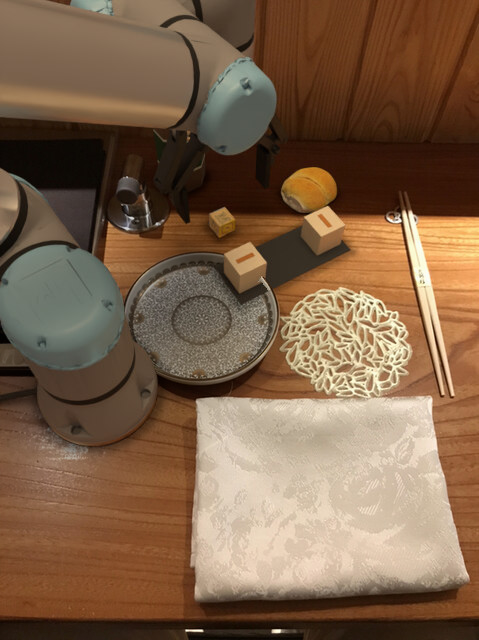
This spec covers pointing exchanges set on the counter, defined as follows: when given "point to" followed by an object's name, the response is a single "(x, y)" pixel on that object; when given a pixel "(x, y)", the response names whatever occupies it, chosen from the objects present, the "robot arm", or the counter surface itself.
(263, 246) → the word mat
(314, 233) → the beige wooden block
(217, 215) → the alphabet block
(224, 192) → the counter surface
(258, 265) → the small cardboard box
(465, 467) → the counter surface
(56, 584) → the counter surface
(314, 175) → the bread roll
